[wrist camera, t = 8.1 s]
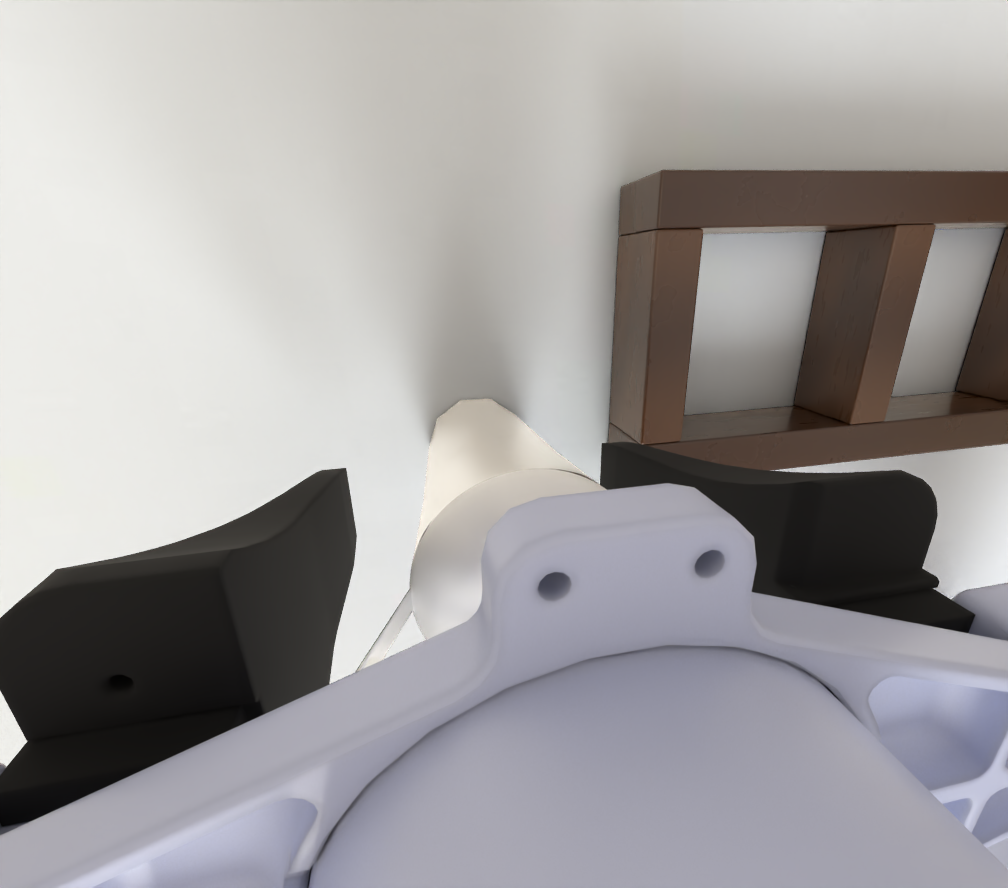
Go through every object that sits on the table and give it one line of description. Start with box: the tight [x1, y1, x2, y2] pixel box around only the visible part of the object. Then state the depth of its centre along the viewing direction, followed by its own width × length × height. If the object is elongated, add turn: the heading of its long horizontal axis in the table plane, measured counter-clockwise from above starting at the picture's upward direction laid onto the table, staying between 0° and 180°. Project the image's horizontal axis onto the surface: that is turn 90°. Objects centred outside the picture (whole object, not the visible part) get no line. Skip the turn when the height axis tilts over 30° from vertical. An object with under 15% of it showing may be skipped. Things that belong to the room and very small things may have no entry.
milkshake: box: [356, 399, 607, 672], centre depth 12 cm, size 5×5×10 cm
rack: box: [608, 170, 1008, 471], centre depth 16 cm, size 9×17×3 cm, turn 92°
